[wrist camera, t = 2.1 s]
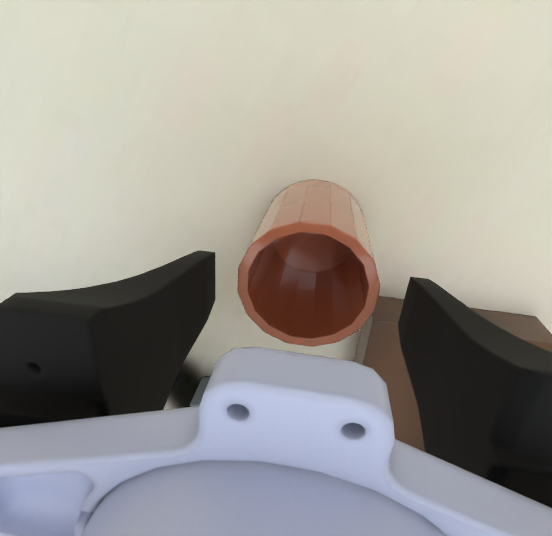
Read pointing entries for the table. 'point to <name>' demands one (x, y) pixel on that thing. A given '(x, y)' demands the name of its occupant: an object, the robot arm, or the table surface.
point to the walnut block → (392, 369)
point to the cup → (310, 267)
